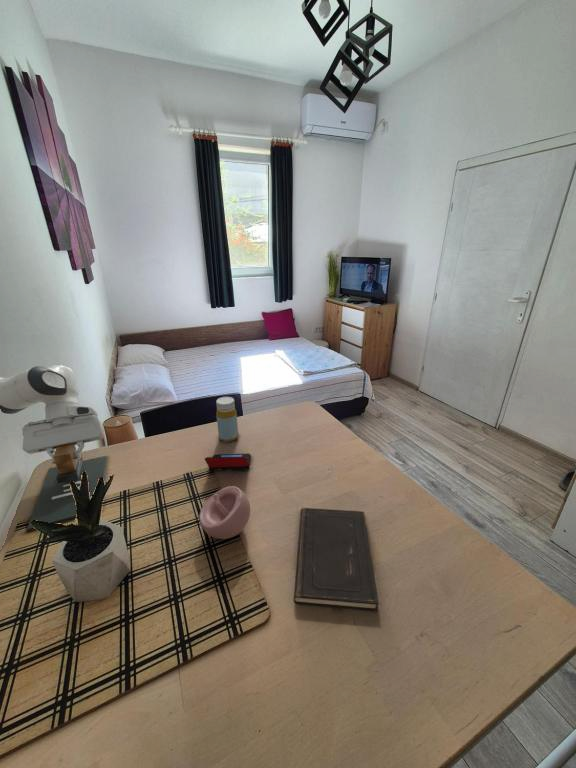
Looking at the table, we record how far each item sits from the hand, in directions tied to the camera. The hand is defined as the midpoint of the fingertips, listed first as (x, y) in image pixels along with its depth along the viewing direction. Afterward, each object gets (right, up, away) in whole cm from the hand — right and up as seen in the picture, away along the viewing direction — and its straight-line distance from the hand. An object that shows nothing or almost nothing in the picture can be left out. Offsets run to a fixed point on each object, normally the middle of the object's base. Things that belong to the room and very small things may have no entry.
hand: (67, 460), depth 95 cm
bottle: (+43, +3, +24) cm, 49 cm away
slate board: (+2, -8, -1) cm, 8 cm away
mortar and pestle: (+50, -14, -15) cm, 54 cm away
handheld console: (+46, -4, +8) cm, 47 cm away
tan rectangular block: (0, -4, +2) cm, 4 cm away
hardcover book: (+75, -16, -22) cm, 80 cm away
